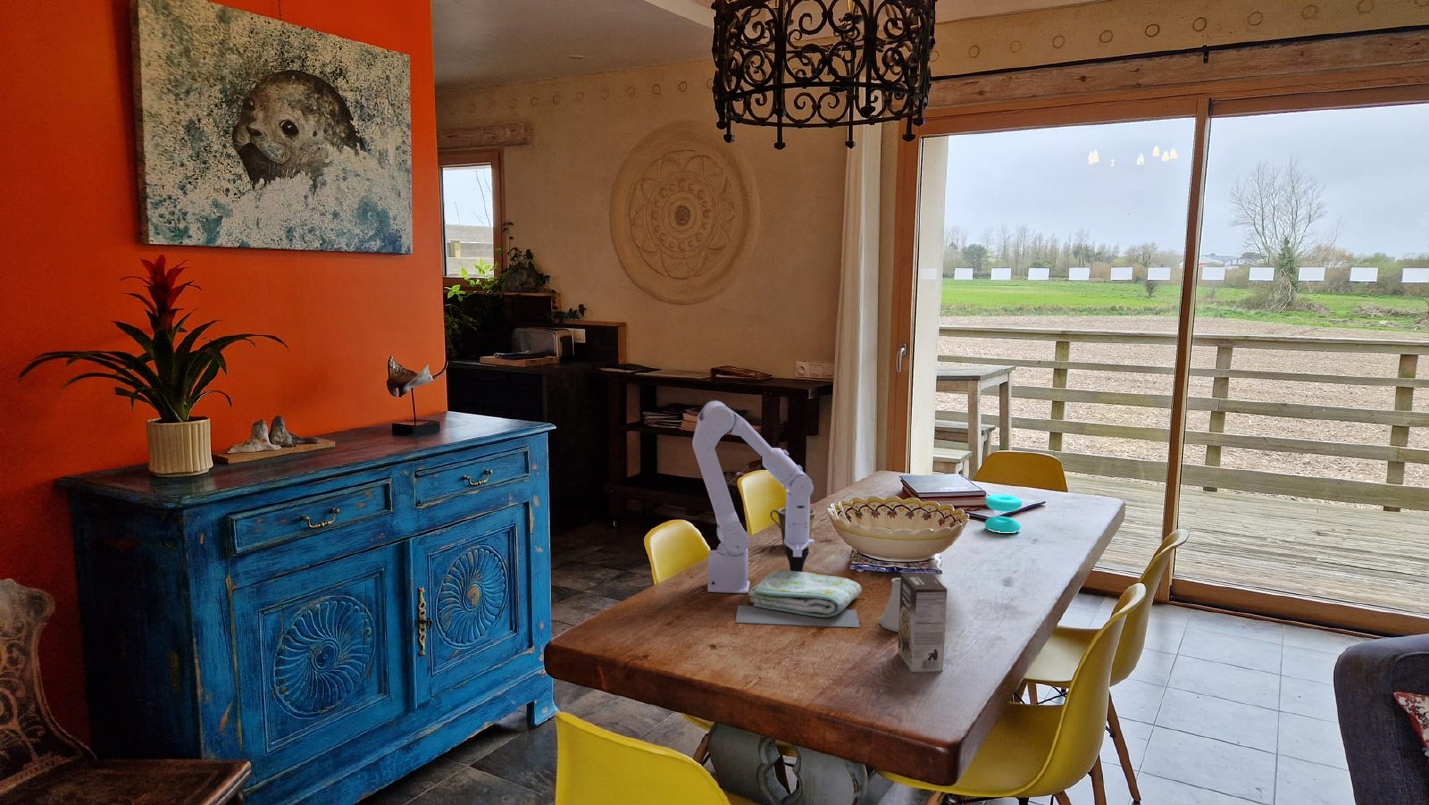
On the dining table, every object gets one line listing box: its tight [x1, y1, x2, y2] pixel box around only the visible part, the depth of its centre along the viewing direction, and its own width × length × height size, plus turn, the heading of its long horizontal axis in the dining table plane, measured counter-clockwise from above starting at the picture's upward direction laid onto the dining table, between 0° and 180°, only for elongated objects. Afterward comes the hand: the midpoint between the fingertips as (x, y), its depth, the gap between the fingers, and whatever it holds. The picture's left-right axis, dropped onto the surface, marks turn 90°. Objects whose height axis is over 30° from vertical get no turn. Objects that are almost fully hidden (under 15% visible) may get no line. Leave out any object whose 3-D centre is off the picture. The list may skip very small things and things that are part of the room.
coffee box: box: [897, 572, 948, 673], centre depth 171 cm, size 9×6×16 cm
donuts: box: [984, 494, 1023, 532], centre depth 264 cm, size 10×10×10 cm
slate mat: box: [735, 604, 860, 629], centre depth 194 cm, size 26×10×1 cm, turn 86°
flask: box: [878, 577, 901, 633], centre depth 189 cm, size 7×7×10 cm
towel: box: [748, 569, 862, 617], centre depth 203 cm, size 18×21×5 cm
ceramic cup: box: [769, 506, 816, 548], centre depth 246 cm, size 13×10×10 cm
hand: (796, 577), depth 214 cm, fingers closed
